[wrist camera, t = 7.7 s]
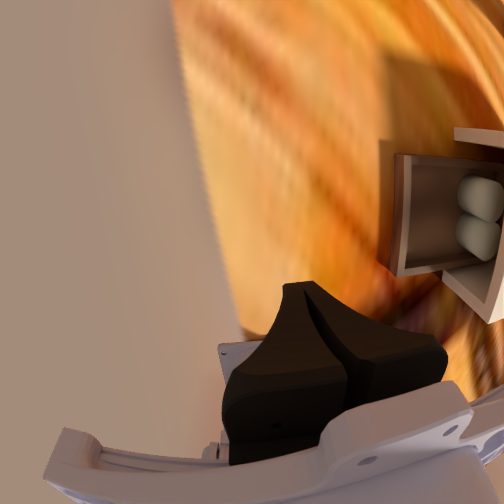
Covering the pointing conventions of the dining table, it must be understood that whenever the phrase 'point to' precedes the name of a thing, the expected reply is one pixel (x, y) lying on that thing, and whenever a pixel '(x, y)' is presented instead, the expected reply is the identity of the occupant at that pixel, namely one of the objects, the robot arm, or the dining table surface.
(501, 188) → the grey rounded lump
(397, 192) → the tray
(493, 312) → the grey rectangular block
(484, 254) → the white rounded cylinder
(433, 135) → the dining table surface
